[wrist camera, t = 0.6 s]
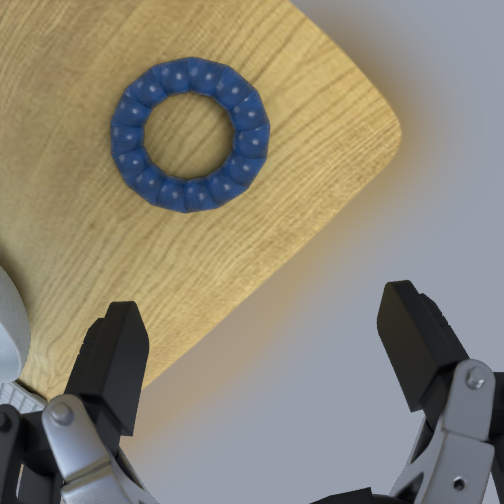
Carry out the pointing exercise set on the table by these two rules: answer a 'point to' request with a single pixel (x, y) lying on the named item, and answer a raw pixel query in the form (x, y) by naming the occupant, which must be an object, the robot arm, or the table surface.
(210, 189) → the blue teething ring
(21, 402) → the keyboard
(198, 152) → the table surface
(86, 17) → the table surface
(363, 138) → the table surface
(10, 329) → the cereal bowl
